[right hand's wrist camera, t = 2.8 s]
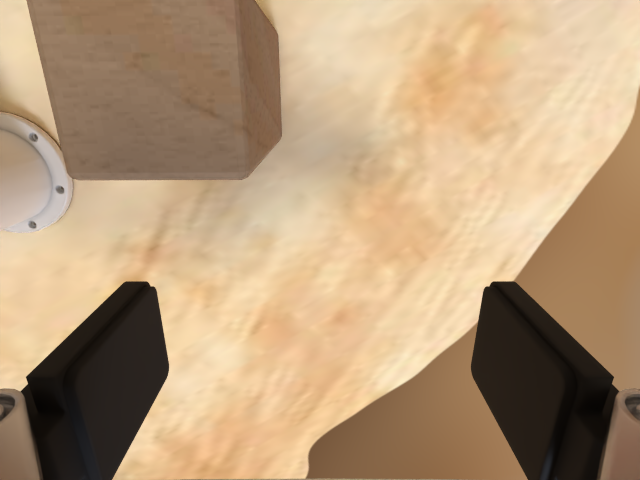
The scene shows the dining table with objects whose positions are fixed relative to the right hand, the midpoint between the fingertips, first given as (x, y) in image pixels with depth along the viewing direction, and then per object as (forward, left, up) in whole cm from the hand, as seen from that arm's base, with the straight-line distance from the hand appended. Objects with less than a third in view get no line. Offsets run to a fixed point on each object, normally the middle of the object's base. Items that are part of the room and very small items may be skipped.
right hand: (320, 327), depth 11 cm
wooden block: (-10, +4, -32) cm, 33 cm away
